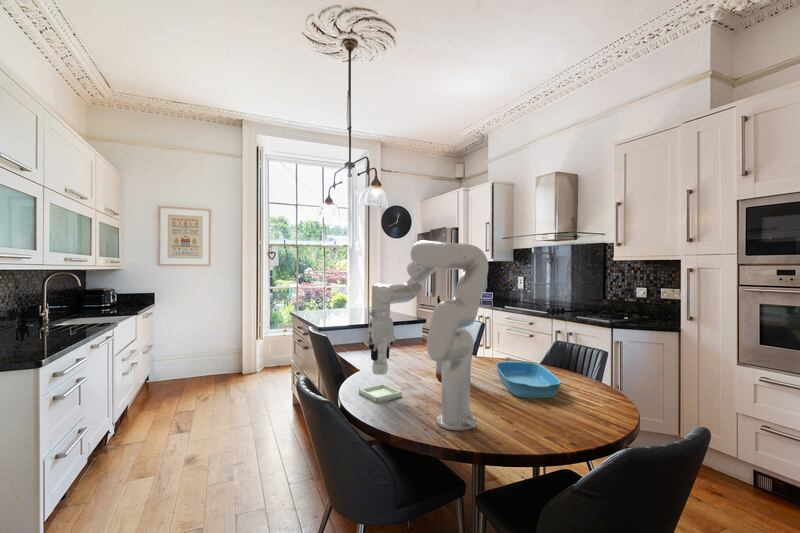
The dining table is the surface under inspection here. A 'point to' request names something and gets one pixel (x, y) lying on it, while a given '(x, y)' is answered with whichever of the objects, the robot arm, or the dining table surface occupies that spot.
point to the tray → (380, 393)
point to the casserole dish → (528, 379)
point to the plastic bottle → (381, 359)
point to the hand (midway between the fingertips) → (380, 358)
